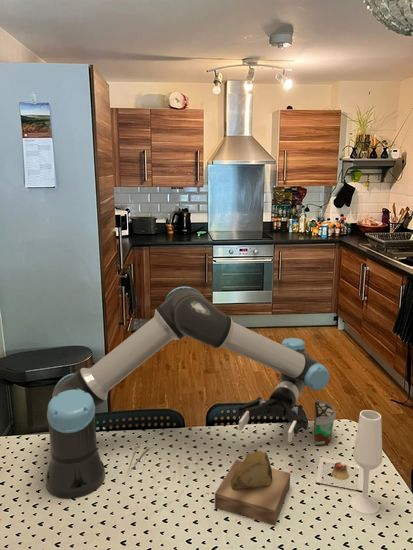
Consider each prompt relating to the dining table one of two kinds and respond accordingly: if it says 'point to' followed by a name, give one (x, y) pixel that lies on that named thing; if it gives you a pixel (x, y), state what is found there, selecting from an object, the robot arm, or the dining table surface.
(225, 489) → the plinth
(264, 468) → the rock
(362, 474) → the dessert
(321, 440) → the food container
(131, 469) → the tweezers
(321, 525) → the dining table surface
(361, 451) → the champagne flute
